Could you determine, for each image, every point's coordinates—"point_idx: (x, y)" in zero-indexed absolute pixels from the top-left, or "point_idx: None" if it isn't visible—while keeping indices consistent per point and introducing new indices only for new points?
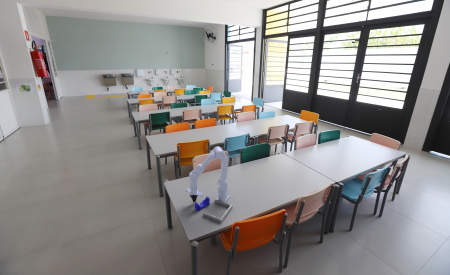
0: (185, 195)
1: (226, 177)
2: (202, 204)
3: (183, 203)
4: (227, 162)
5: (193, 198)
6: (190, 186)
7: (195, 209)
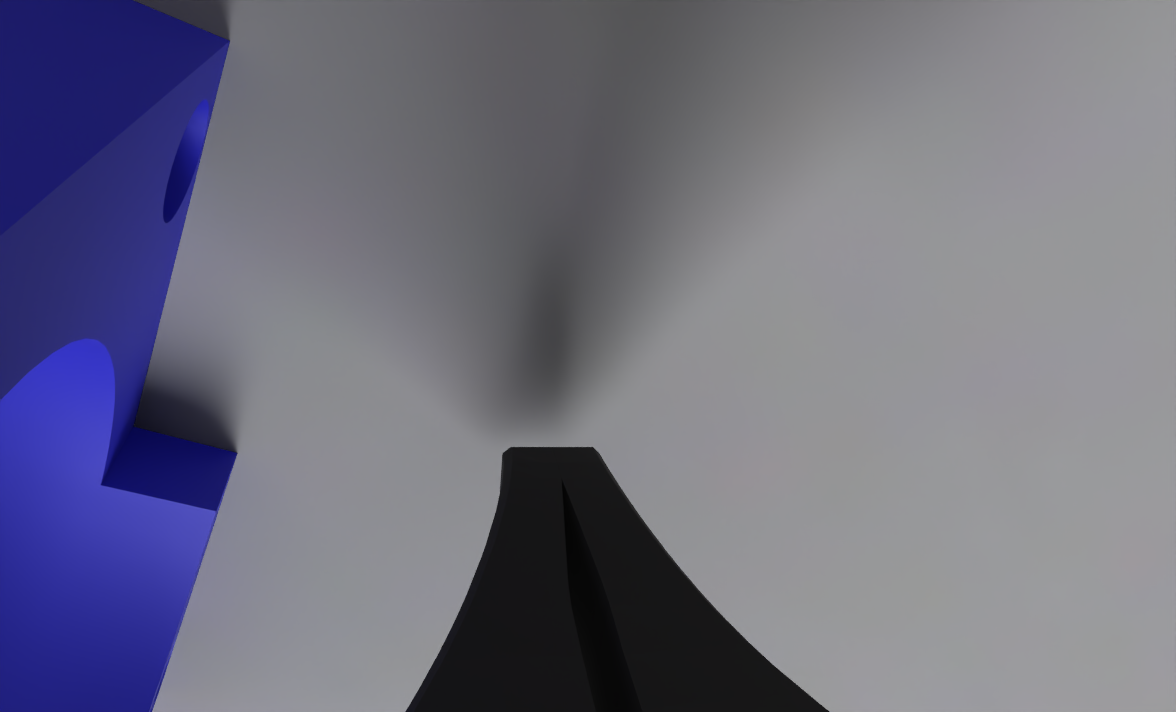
0: (1069, 615)
1: None
2: (24, 508)
3: (1040, 222)
4: None
5: (558, 667)
6: None
7: (127, 11)
